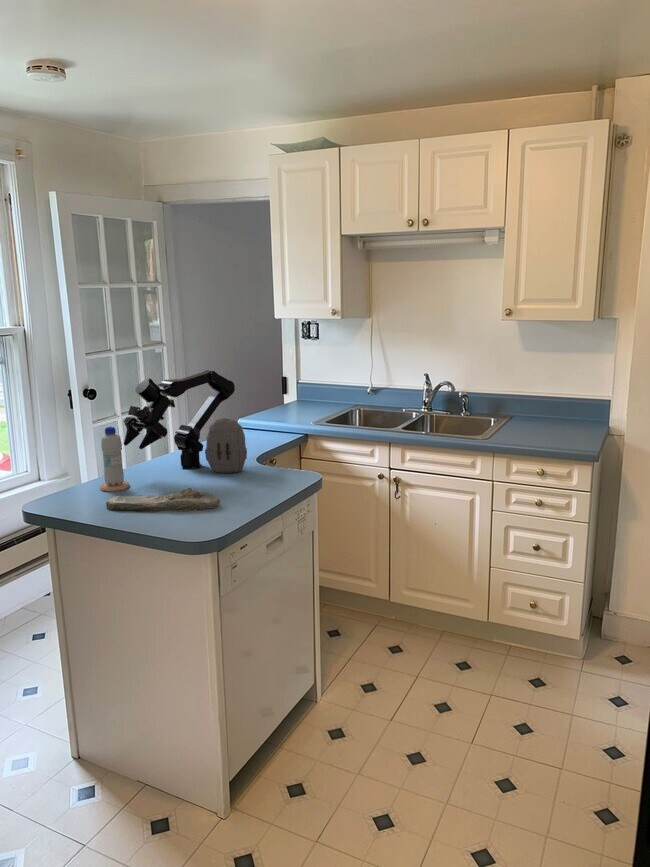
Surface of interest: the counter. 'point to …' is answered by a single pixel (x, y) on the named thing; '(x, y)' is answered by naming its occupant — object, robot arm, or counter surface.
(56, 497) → the counter surface
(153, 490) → the counter surface
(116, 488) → the peach round piece
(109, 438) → the bottle
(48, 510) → the counter surface
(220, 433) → the soft grey pack
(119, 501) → the long grey stone
